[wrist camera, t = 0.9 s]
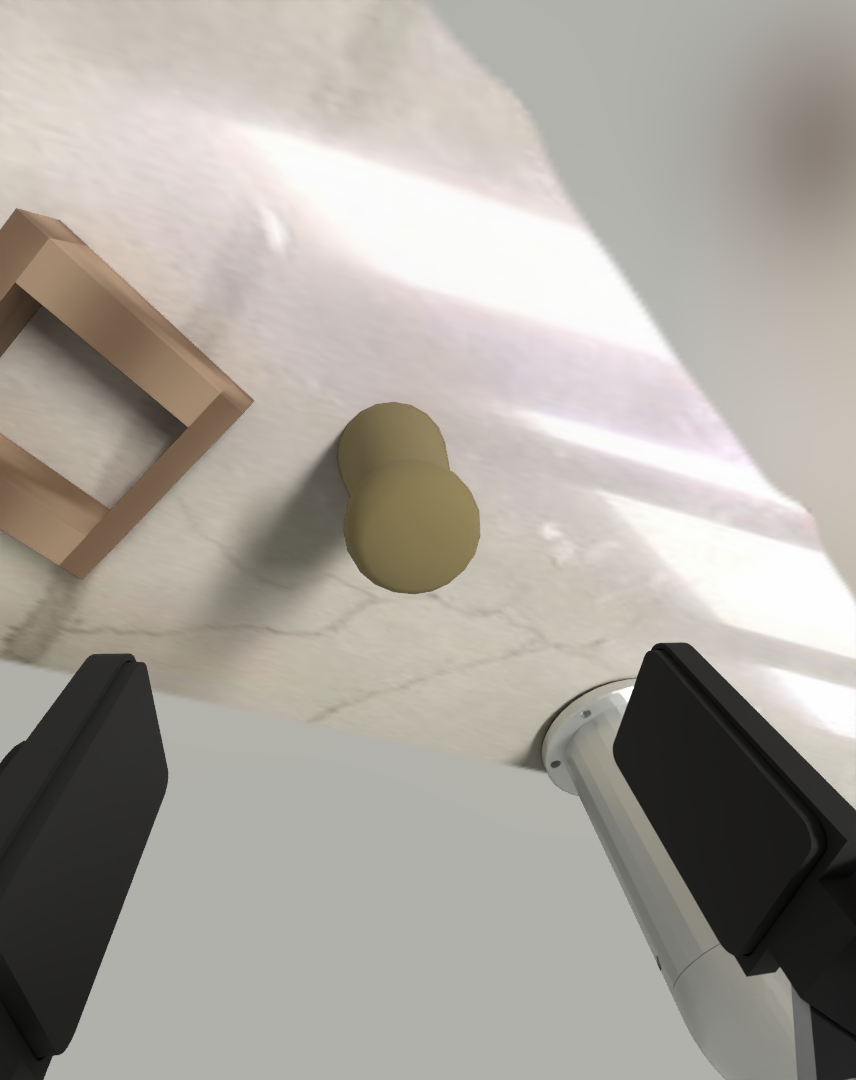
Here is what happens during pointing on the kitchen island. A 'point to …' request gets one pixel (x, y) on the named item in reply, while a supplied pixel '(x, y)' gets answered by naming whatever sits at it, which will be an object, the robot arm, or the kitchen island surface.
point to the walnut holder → (130, 345)
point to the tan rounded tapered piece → (404, 501)
